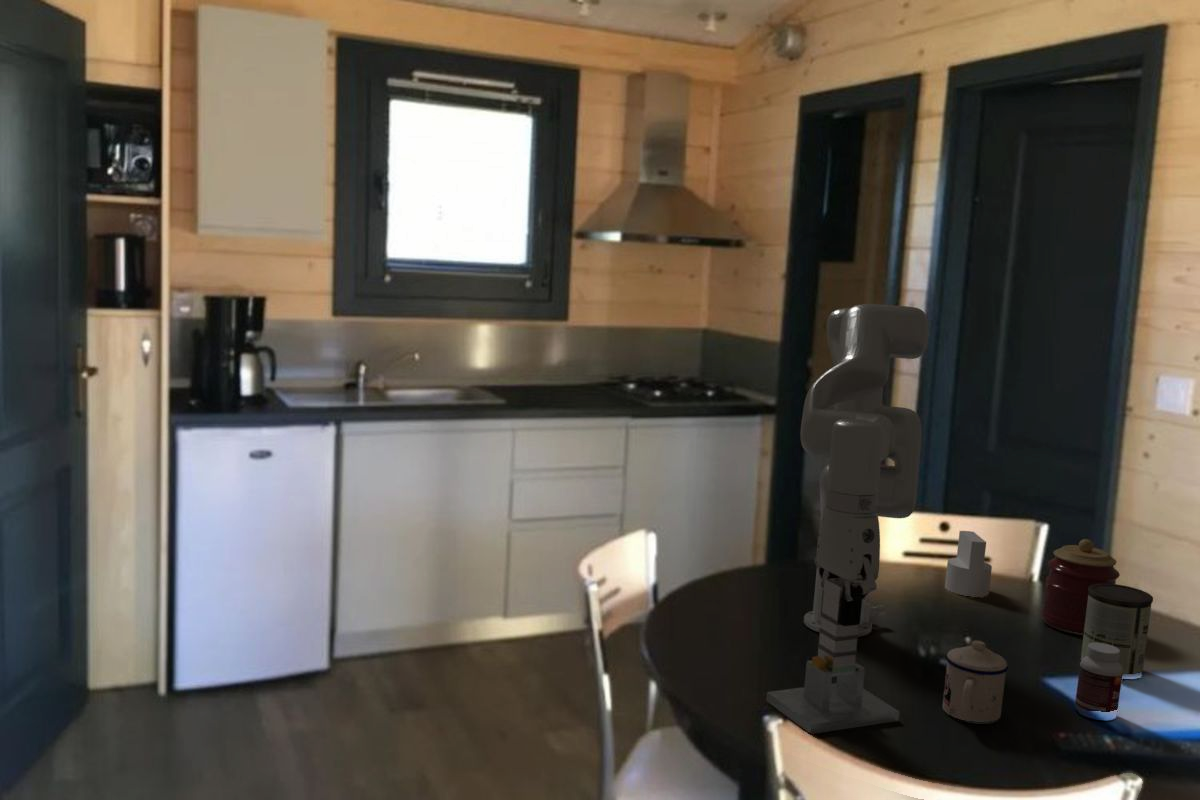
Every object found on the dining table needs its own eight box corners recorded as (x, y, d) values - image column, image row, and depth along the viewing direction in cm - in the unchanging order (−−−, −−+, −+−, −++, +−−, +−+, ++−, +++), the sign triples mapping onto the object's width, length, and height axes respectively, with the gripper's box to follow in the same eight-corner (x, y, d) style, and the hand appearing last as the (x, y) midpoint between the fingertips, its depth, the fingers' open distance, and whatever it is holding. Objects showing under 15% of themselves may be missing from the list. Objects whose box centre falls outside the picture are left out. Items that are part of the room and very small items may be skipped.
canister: (1093, 643, 207) (1105, 552, 205) (1028, 622, 217) (1038, 535, 214) (1123, 630, 216) (1135, 542, 213) (1059, 611, 226) (1070, 527, 223)
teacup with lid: (946, 696, 178) (953, 627, 176) (1005, 710, 173) (1014, 640, 172) (931, 723, 167) (939, 650, 165) (994, 739, 163) (1003, 664, 161)
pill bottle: (1118, 726, 170) (1127, 658, 169) (1074, 717, 172) (1083, 650, 171) (1115, 711, 176) (1124, 645, 174) (1073, 703, 178) (1081, 637, 177)
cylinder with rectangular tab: (994, 598, 231) (1001, 543, 230) (951, 596, 231) (958, 540, 230) (980, 585, 240) (986, 532, 238) (939, 583, 240) (945, 529, 239)
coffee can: (1076, 654, 201) (1086, 579, 199) (1138, 664, 198) (1148, 588, 196) (1081, 673, 191) (1091, 595, 189) (1146, 684, 188) (1157, 605, 186)
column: (838, 663, 171) (846, 576, 169) (854, 674, 167) (863, 585, 165) (815, 666, 170) (823, 578, 168) (831, 677, 166) (840, 587, 164)
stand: (850, 689, 178) (855, 638, 177) (898, 720, 167) (904, 666, 166) (766, 701, 172) (770, 647, 170) (810, 734, 161) (815, 677, 159)
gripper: (907, 514, 159) (895, 636, 161) (838, 488, 174) (828, 599, 176) (865, 517, 156) (853, 641, 158) (798, 490, 171) (788, 603, 173)
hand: (840, 618), depth 167 cm, fingers closed on column, 4 cm apart
